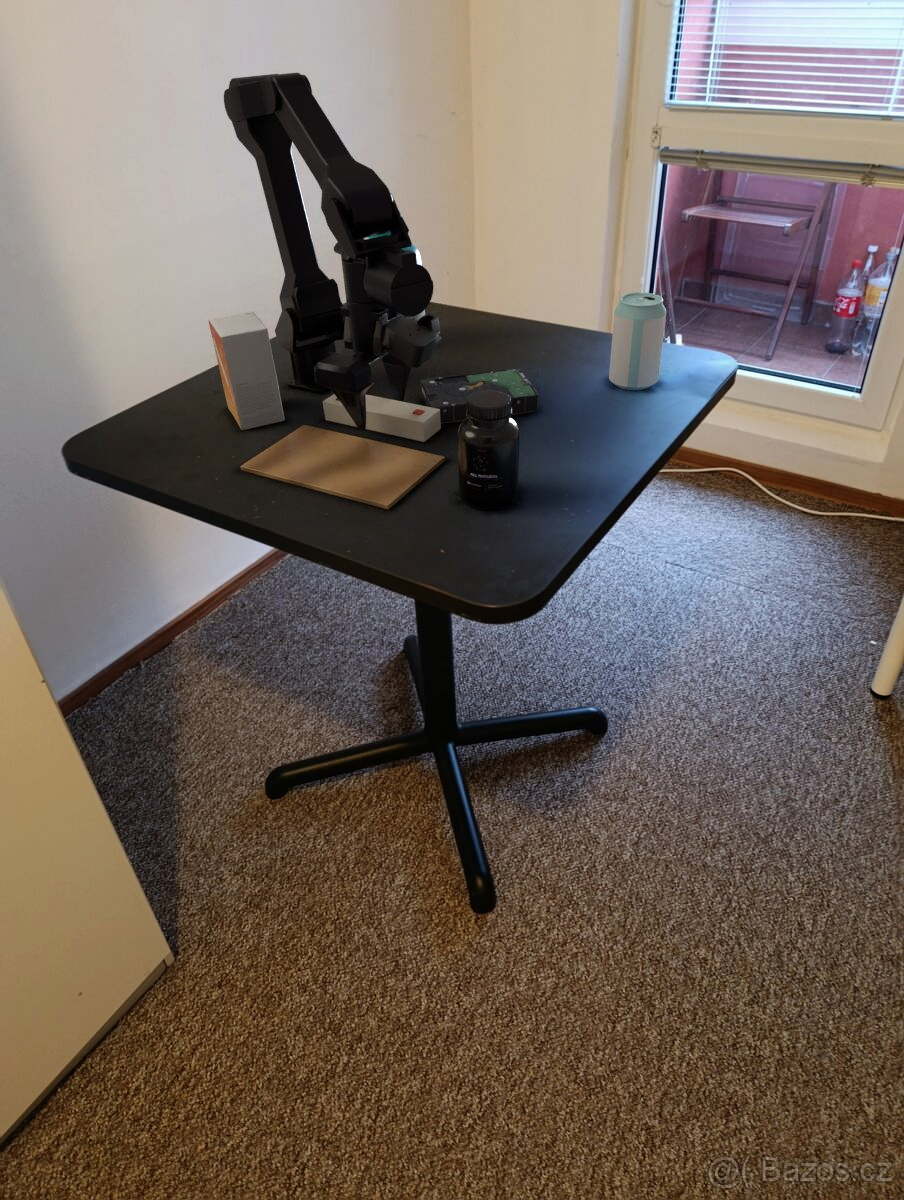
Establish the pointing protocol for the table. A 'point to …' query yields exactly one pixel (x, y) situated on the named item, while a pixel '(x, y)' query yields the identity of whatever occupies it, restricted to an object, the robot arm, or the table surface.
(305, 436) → the cork mat
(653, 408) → the table surface
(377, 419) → the remote
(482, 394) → the supplement bottle
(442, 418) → the disk drive
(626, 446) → the table surface
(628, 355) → the can
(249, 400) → the small box
